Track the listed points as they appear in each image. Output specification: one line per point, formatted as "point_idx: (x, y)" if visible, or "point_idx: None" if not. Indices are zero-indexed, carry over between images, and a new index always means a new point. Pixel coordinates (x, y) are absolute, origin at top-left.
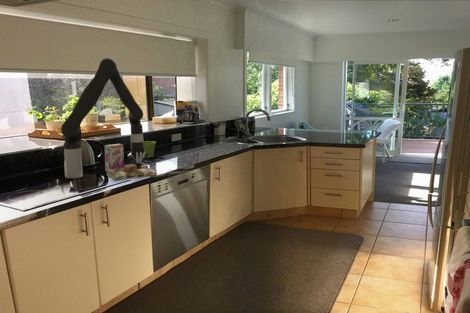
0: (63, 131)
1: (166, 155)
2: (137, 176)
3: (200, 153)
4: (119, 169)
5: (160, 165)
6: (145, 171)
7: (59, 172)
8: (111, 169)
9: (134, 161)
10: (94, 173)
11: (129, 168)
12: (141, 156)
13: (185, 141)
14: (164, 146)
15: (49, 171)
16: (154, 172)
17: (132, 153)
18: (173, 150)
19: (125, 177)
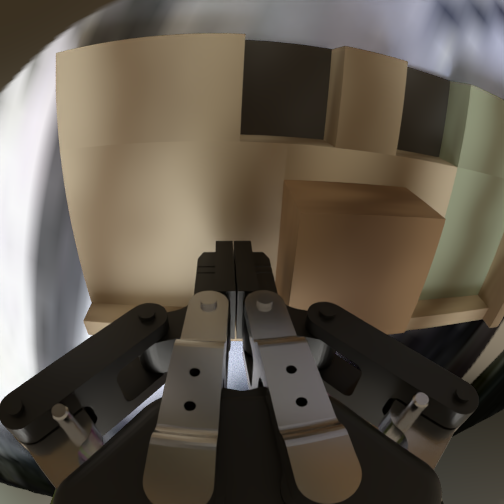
0: None
1: (19, 454)
2: (338, 48)
3: None
4: (416, 312)
5: (13, 368)
6: (177, 128)
7: (490, 400)
8: (468, 317)
9: (335, 310)
10: (457, 361)
11: (411, 207)
12: (168, 384)
13: (3, 482)
14: (43, 492)
15: (487, 413)
16: (86, 47)
17: (419, 462)
18: (10, 467)
19: (463, 84)
